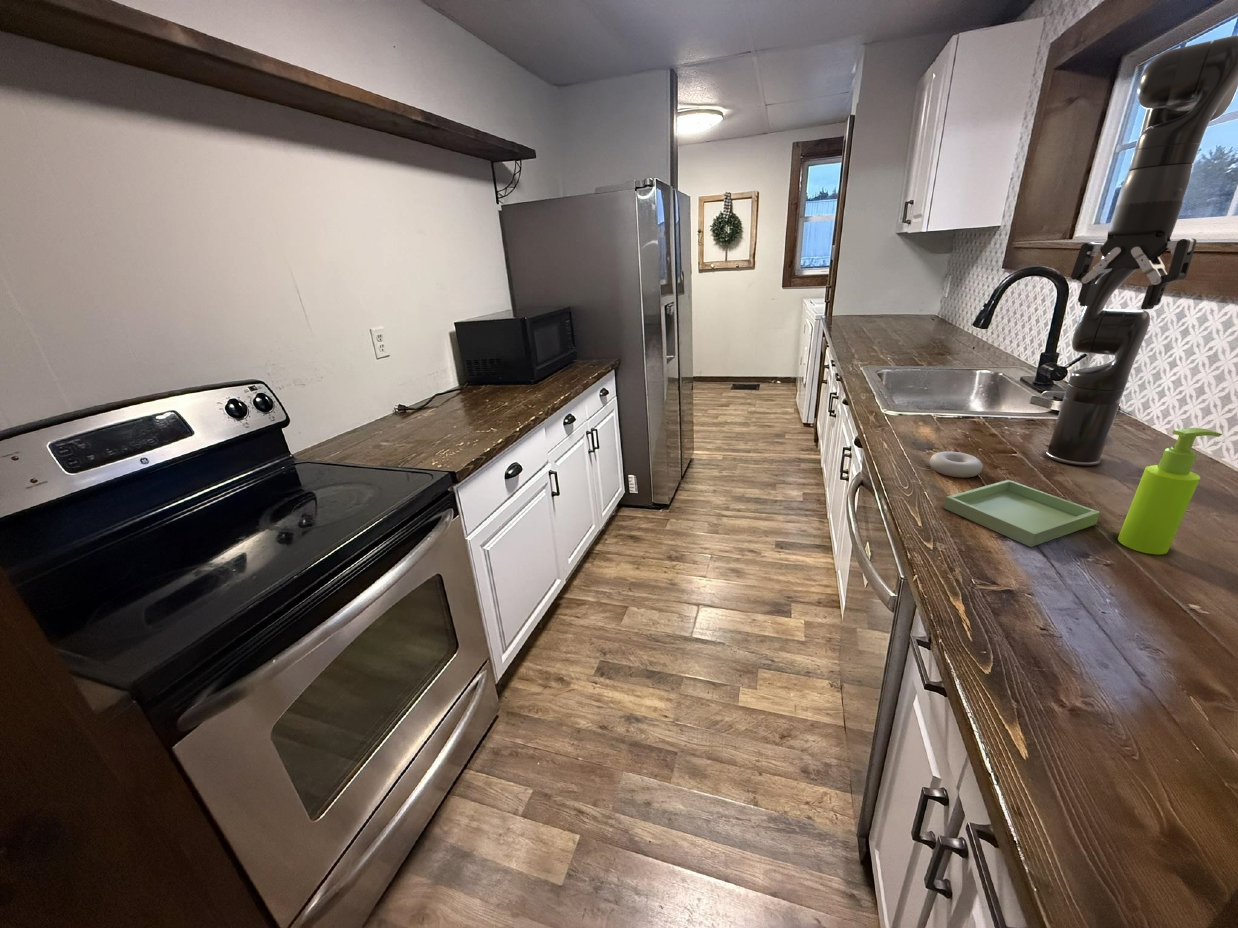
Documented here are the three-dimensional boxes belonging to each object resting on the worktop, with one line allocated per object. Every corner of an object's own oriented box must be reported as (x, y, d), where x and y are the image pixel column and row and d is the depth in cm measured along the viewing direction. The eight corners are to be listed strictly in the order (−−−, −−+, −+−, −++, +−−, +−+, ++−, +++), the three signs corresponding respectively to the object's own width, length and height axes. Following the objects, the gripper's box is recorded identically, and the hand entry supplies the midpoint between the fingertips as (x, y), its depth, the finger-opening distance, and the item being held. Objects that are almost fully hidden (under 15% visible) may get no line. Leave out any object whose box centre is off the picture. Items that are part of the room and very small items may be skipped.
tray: (1005, 490, 102) (1008, 479, 101) (1096, 524, 88) (1100, 511, 87) (943, 508, 96) (946, 496, 95) (1030, 547, 83) (1034, 534, 82)
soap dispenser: (1185, 553, 79) (1239, 435, 71) (1140, 555, 79) (1190, 437, 72) (1149, 534, 84) (1196, 423, 77) (1107, 536, 85) (1150, 424, 77)
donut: (937, 479, 108) (989, 480, 106) (940, 465, 107) (993, 466, 105) (921, 462, 117) (969, 463, 115) (924, 448, 116) (972, 449, 114)
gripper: (1225, 195, 74) (1183, 308, 80) (1108, 205, 86) (1079, 303, 92) (1197, 195, 71) (1156, 312, 77) (1081, 206, 83) (1053, 306, 90)
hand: (1114, 307), depth 85 cm, fingers open, 8 cm apart
